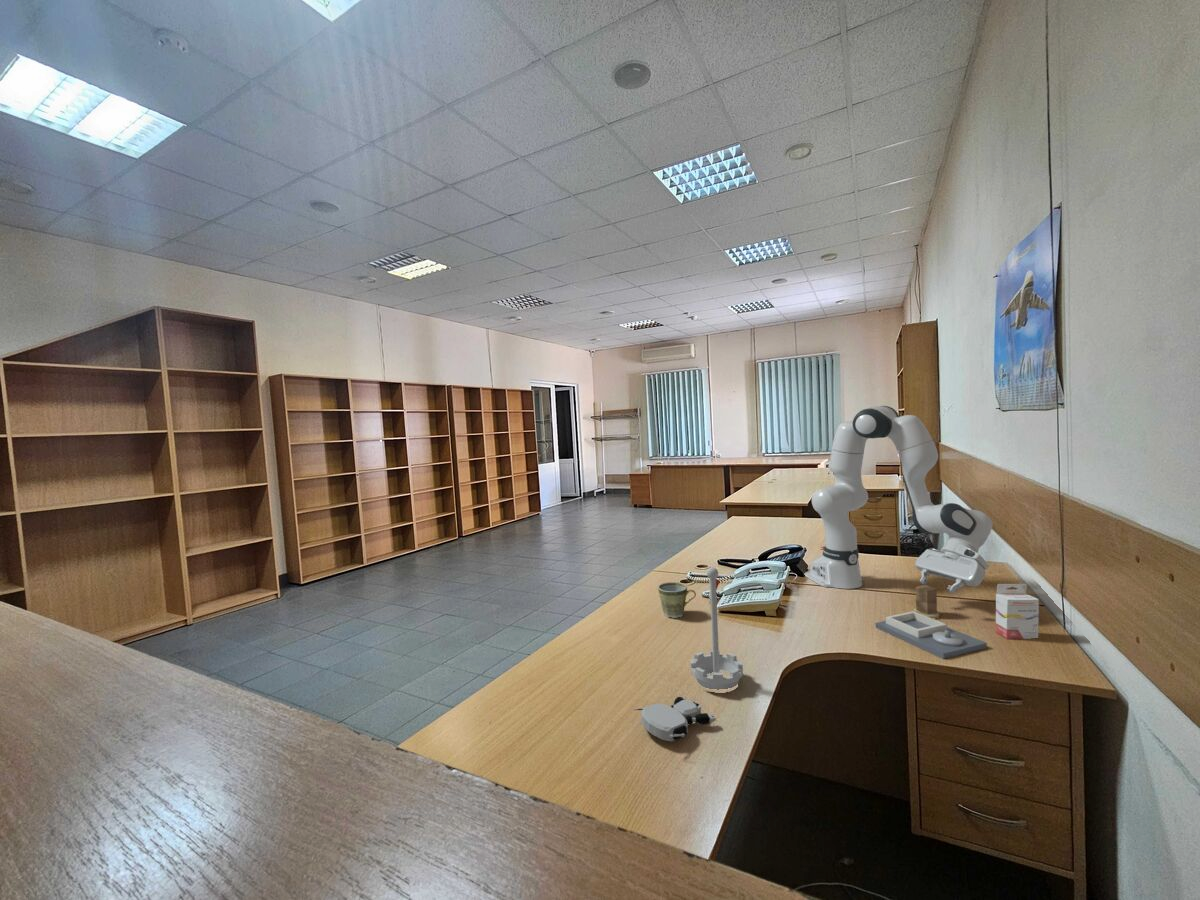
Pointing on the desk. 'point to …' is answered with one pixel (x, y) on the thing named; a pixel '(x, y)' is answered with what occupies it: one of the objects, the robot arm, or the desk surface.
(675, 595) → the ceramic cup
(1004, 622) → the ink cartridge box
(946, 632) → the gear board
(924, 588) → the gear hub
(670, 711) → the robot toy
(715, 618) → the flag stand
